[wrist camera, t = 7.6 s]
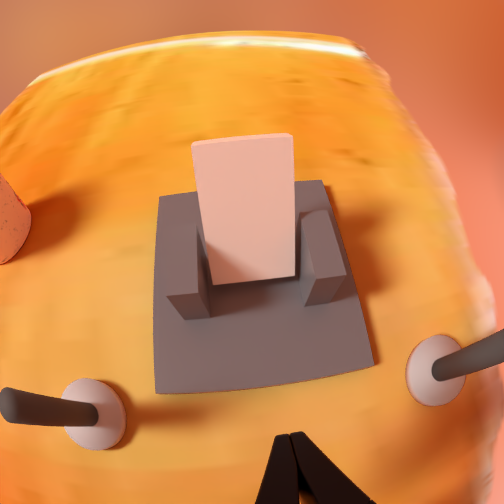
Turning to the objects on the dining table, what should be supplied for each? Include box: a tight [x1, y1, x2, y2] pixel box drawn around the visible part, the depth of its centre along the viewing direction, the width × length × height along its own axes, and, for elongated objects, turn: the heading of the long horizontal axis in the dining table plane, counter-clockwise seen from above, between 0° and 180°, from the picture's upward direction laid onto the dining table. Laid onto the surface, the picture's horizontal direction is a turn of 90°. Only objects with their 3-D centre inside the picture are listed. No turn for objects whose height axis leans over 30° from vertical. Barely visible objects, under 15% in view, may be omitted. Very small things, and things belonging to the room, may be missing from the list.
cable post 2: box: [405, 329, 504, 406], centre depth 15 cm, size 6×6×10 cm
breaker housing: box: [153, 180, 374, 394], centre depth 21 cm, size 18×16×6 cm
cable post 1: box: [0, 378, 127, 450], centre depth 14 cm, size 6×6×10 cm
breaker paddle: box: [191, 133, 295, 285], centre depth 19 cm, size 2×6×10 cm, turn 97°
